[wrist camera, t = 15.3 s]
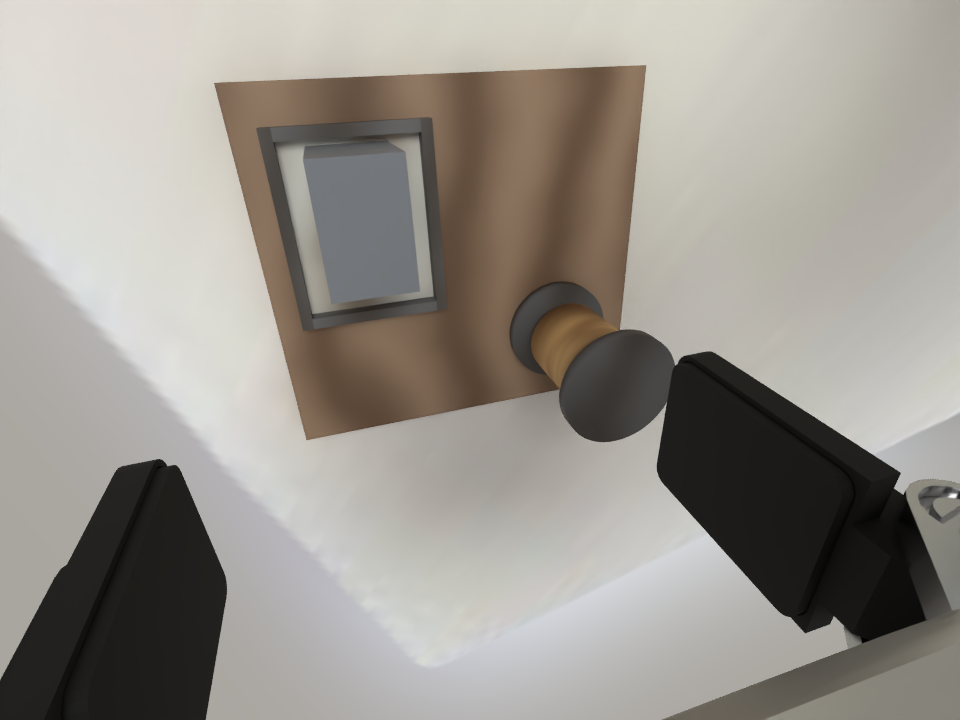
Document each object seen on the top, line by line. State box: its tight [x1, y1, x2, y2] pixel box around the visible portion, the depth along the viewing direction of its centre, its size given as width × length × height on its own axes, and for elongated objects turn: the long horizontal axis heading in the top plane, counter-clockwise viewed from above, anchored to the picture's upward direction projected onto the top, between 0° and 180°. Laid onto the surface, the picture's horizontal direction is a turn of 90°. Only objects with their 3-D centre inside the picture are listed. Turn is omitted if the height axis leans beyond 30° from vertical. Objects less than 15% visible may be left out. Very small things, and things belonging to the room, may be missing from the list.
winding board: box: [214, 65, 675, 442], centre depth 27 cm, size 22×20×10 cm
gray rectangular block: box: [303, 140, 420, 304], centre depth 24 cm, size 4×6×6 cm, turn 2°
